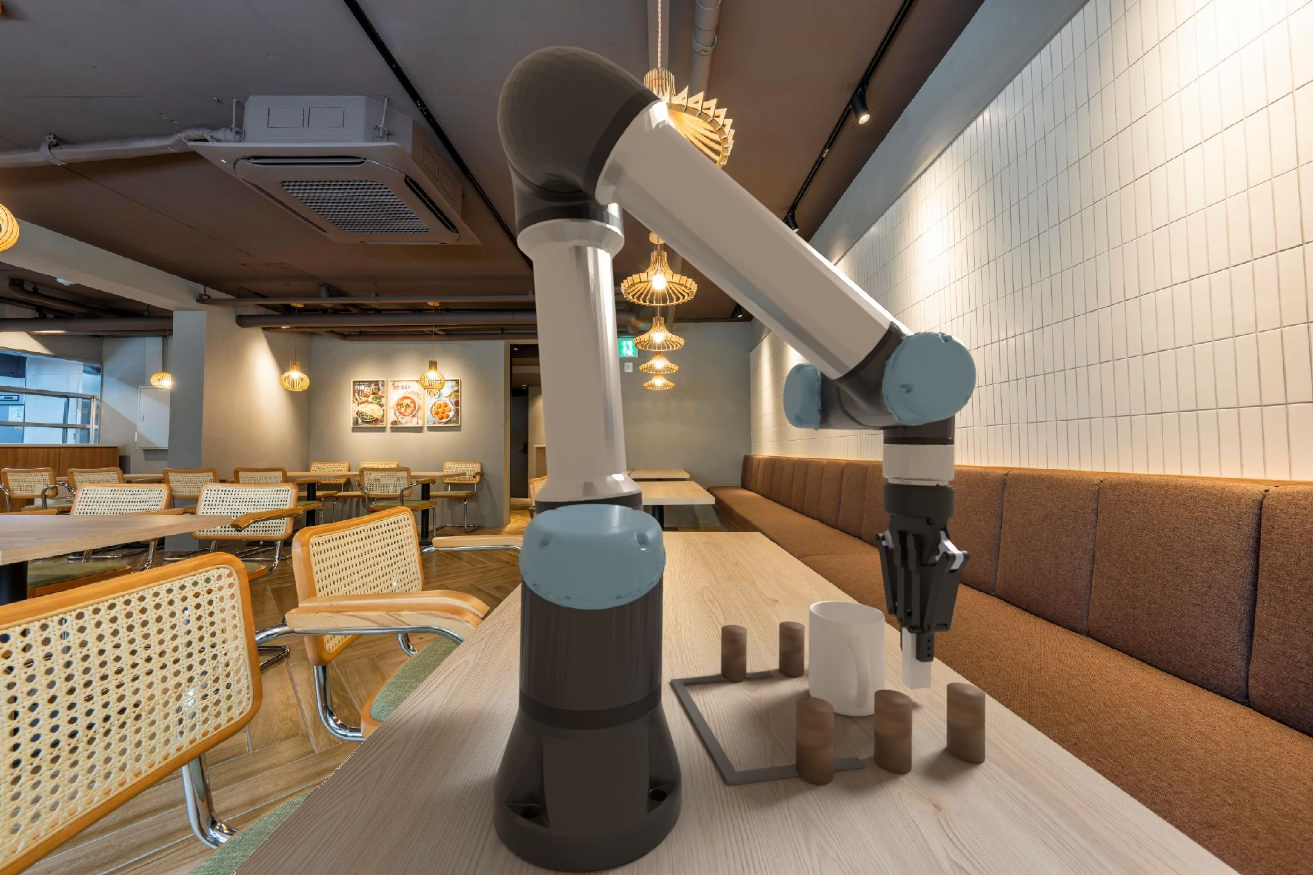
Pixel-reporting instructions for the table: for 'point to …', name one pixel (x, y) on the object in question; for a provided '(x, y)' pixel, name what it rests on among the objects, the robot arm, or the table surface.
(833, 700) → the mug
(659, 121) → the robot arm
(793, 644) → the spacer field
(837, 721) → the table surface
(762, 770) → the frame
